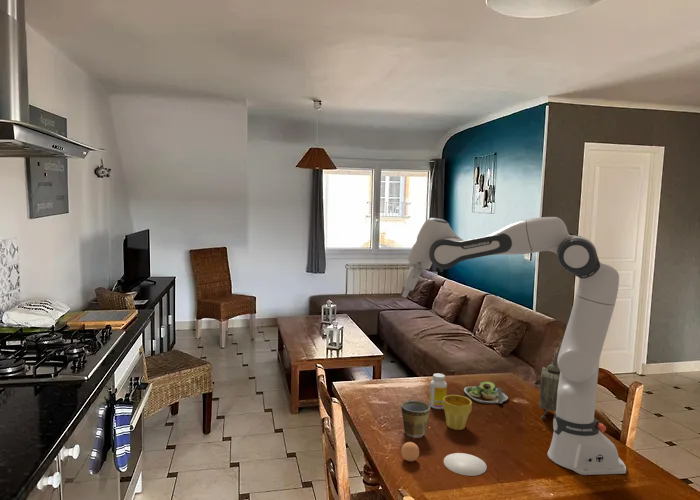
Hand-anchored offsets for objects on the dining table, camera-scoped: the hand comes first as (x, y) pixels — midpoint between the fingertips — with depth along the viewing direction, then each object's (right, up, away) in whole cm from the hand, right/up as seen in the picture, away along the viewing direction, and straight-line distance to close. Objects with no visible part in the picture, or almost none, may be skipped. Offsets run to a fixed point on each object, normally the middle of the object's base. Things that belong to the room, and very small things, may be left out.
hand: (405, 292), depth 176 cm
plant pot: (+19, -49, -1) cm, 53 cm away
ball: (-1, -48, -26) cm, 54 cm away
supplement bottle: (+15, -48, +17) cm, 53 cm away
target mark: (+15, -51, -27) cm, 60 cm away
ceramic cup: (+2, -49, -6) cm, 49 cm away
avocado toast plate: (+38, -48, +30) cm, 68 cm away
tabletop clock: (+59, -50, +11) cm, 78 cm away
